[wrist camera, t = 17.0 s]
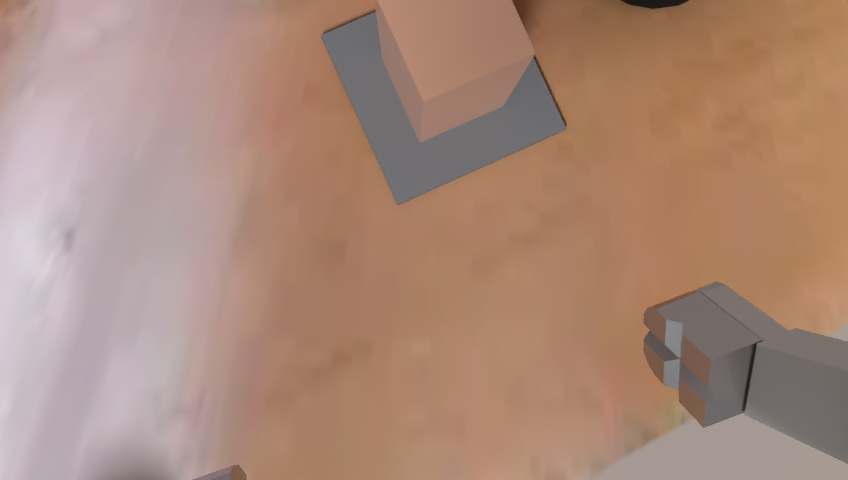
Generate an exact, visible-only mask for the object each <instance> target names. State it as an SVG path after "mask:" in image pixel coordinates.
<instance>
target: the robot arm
mask: <svg viewBox="0 0 848 480" xmlns="http://www.w3.org/2000/svg"><path fill="white" fill-rule="evenodd" d="M644 324H645V325H646V326H647V327H648V328H649V329H650V331H649V332H648V334H647V335H646V337H645V339H644V354H645V356H646V359H647V362H648V364H649V366H650V368H651V369H652V371H653V373H654V374H655V375H656V377H657V378H658V379H659V380H660V381H661V382H662V383H663V384H664V385H666V386H669V387H672V388H674V389H677V390H678V393H679V402H680V403H681V404H682V405H683V406H684V407H685V408H686V410H687V411H688V412H689V413H690V414H691V415H692V416H693V417H694V418H695V419H696V420H697V421H698V422H699V423H700V424H701V426H702V427H703V428H704V427H707V426H710V425H712V424H715V423H718V422H720V421H723V420H725V419H728V418H731V417H733V416H736V415H739V414H741V413H744V412H745V415H746V416H748V417H750V418H752V419H754V420H756V421H758V422H761V423H763V424H765V425H767V426H769V427H771V428H773V429H775V430H777V431H780V432H782V433H784V434H786V435H788V436H790V437H792V438H794V439H796V440H799V441H801V442H803V443H805V444H807V445H809V446H811V447H813V448H816V449H818V450H820V451H822V452H824V453H826V454H828V455H830V456H833V457H834V458H837V459H839V460H841V461H843V462H845V463H847V464H848V342H847V341H843V340H838V339H835V338H831V337H827V336H824V335H820V334H816V333H812V332H808V331H804V330H801V329H797V328H796V329H793V330H790V331H788V330H787V329H786V328H784V327H783V326H782V325H780V324H779V323H777V322H776V321H775V320H773V319H772V318H770V317H769V316H768V315H766V314H765V313H764V312H762V311H761V310H759V309H758V308H757V307H755V306H754V305H752V304H751V303H750V302H748V301H747V300H746V299H744V298H743V297H741V296H740V295H739V294H737V293H736V292H735V291H733V290H732V289H730V288H729V287H728V286H726V285H725V284H723V283H719V282H714V283H712V284H709V285H706V286H704V287H701V288H698V289H696V290H693V291H692V292H687V293H685V294H682V295H680V296H677V297H674V298H672V299H669V300H667V301H664V302H662V303H659V304H657V305H654V306H652V307H649V308H647V309H646V311H645V313H644ZM193 480H246V474H245V473H244V471H243V470H242V469H241V467H240V466H239V465H233V466H230V467H228V468H225V469H222V470H219V471H216V472H213V473H210V474H208V475H205V476H202V477H199V478H196V479H193Z"/></svg>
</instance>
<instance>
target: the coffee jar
mask: <svg viewBox="0 0 848 480" xmlns="http://www.w3.org/2000/svg"><path fill="white" fill-rule="evenodd" d="M621 1H623V2H625V3H627V4H630V5H635V6H640V7H646V8H651V9H655V8H663V7H670V6H677V5H680V4H683V3H685V2H687V1H689V0H621Z"/></svg>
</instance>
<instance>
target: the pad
mask: <svg viewBox="0 0 848 480" xmlns="http://www.w3.org/2000/svg"><path fill="white" fill-rule="evenodd" d="M321 37H322V39H323V41H324V44H325V46H326V48H327V50H328V52H329V55H330V57H331V59H332V61H333V63H334V66H335V68H336V70H337V72H338V74H339V77H340V79H341V81H342V83H343V85H344V88H345V90H346V92H347V94H348V96H349V99H350V101H351V103H352V105H353V107H354V110H355V112H356V114H357V116H358V118H359V121H360V123H361V125H362V127H363V129H364V132H365V134H366V136H367V138H368V140H369V143H370V145H371V147H372V149H373V151H374V154H375V156H376V158H377V160H378V162H379V165H380V167H381V169H382V171H383V173H384V176H385V178H386V180H387V182H388V184H389V187H390V189H391V191H392V193H393V195H394V198H395V200H396V202H397V204H398V205H399V204H402V203H404V202H406V201H408V200H410V199H413V198H415V197H417V196H419V195H422V194H424V193H426V192H428V191H430V190H433V189H435V188H437V187H439V186H442V185H444V184H446V183H448V182H450V181H453V180H455V179H457V178H459V177H462V176H464V175H466V174H468V173H471V172H473V171H475V170H477V169H479V168H482V167H484V166H486V165H488V164H491V163H493V162H495V161H497V160H499V159H502V158H504V157H506V156H508V155H511V154H513V153H515V152H517V151H519V150H522V149H524V148H526V147H528V146H531V145H533V144H535V143H537V142H539V141H542V140H544V139H546V138H548V137H551V136H553V135H555V134H557V133H559V132H562V131H564V130H566V129H567V128H566V126H565V124H564V122H563V120H562V118H561V116H560V113H559V111H558V109H557V107H556V105H555V103H554V100H553V98H552V96H551V94H550V92H549V90H548V87H547V85H546V83H545V81H544V79H543V77H542V74H541V72H540V70H539V68H538V66H537V64H536V62H535V59H534V57H533V58H532V60H531V62H530V63H529V65H528V67H527V68H526V70H525V71H524V73H523V75H522V76H521V78H520V80H519V81H518V83H517V84H516V86H515V88H514V89H513V91H512V93H511V94H510V96H509V97H508V99H507V101H506V102H505V104H504V106H503V107H500V108H498V109H496V110H493V111H491V112H489V113H487V114H484V115H482V116H480V117H478V118H475V119H473V120H471V121H468V122H466V123H464V124H462V125H459V126H457V127H455V128H452V129H450V130H448V131H446V132H443V133H441V134H439V135H437V136H434V137H432V138H430V139H427V140H425V141H423V142H421V143H420V142H419V140H418V138H417V136H416V134H415V131H414V129H413V127H412V125H411V122H410V120H409V118H408V116H407V114H406V111H405V109H404V107H403V105H402V102H401V100H400V98H399V96H398V94H397V91H396V89H395V87H394V85H393V82H392V80H391V78H390V76H389V74H388V71H387V69H386V67H385V65H384V62H383V60H382V54H381V47H380V39H379V32H378V25H377V18H376V12H373V13H371V14H369V15H366V16H364V17H362V18H359V19H357V20H355V21H352V22H350V23H348V24H345V25H343V26H341V27H339V28H336V29H334V30H332V31H329V32H327V33H325V34H322V35H321Z"/></svg>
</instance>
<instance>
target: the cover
mask: <svg viewBox="0 0 848 480" xmlns="http://www.w3.org/2000/svg"><path fill="white" fill-rule="evenodd" d="M374 3H375V10H376V18H377V25H378V32H379V39H380V47H381V54H382V60H383V62H384V65H385V67H386V69H387V71H388V74H389V76H390V78H391V80H392V82H393V85H394V87H395V89H396V91H397V94H398V96H399V98H400V100H401V102H402V105H403V107H404V109H405V111H406V114H407V116H408V118H409V120H410V122H411V125H412V127H413V129H414V131H415V134H416V136H417V138H418V140H419V142H420V143H421V142H423V141H425V140H427V139H430V138H432V137H434V136H437V135H439V134H441V133H443V132H446V131H448V130H450V129H452V128H455V127H457V126H459V125H462V124H464V123H466V122H468V121H471V120H473V119H475V118H478V117H480V116H482V115H484V114H487V113H489V112H491V111H493V110H496V109H498V108H500V107H503V106H504V104H505V102H506V101H507V99H508V97H509V96H510V94H511V93H512V91H513V89H514V88H515V86H516V84H517V83H518V81H519V80H520V78H521V76H522V75H523V73H524V71H525V70H526V68H527V67H528V65H529V63H530V62H531V60H532V58H533V57H534V55H535V54H536V52H535V50H534V47H533V45H532V43H531V41H530V39H529V36H528V34H527V32H526V30H525V28H524V25H523V23H522V21H521V19H520V17H519V14H518V12H517V10H516V8H515V6H514V4H513V1H512V0H374Z"/></svg>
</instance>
